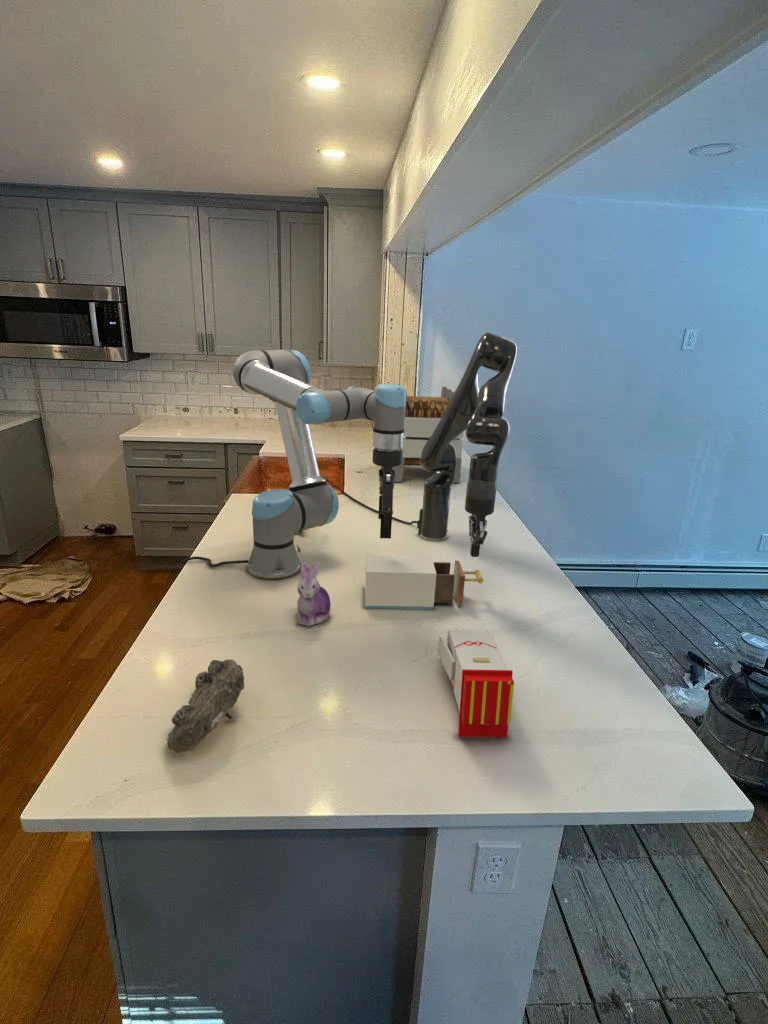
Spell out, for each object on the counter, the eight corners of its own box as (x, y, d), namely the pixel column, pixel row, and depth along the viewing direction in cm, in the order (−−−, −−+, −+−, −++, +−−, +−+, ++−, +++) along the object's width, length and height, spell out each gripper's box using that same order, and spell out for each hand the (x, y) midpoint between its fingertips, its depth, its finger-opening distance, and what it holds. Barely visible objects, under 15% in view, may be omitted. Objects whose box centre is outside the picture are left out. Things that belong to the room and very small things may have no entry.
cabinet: (428, 589, 161) (431, 555, 157) (433, 609, 151) (436, 573, 147) (364, 588, 160) (366, 554, 156) (365, 608, 150) (366, 571, 146)
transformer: (382, 463, 289) (386, 382, 275) (445, 464, 293) (451, 384, 279) (390, 482, 257) (394, 392, 243) (460, 483, 261) (468, 394, 247)
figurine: (302, 631, 137) (302, 575, 132) (289, 611, 146) (288, 558, 141) (338, 623, 142) (339, 568, 137) (323, 604, 150) (323, 552, 145)
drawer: (475, 588, 161) (478, 561, 158) (482, 606, 152) (486, 576, 149) (396, 587, 160) (398, 559, 157) (398, 604, 150) (400, 574, 147)
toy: (488, 613, 130) (523, 677, 101) (484, 667, 133) (517, 744, 104) (435, 612, 130) (455, 676, 101) (432, 666, 133) (451, 743, 103)
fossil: (192, 660, 117) (244, 628, 112) (224, 691, 120) (276, 661, 115) (142, 746, 98) (202, 712, 93) (182, 779, 101) (242, 748, 96)
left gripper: (406, 461, 129) (401, 547, 137) (399, 438, 153) (395, 512, 160) (374, 460, 129) (370, 546, 136) (371, 437, 152) (369, 511, 160)
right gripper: (501, 502, 140) (493, 566, 146) (489, 486, 152) (483, 546, 158) (471, 502, 139) (464, 566, 145) (462, 486, 152) (456, 545, 158)
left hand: (384, 528), depth 148 cm, fingers open, 13 cm apart
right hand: (474, 555), depth 152 cm, fingers closed
